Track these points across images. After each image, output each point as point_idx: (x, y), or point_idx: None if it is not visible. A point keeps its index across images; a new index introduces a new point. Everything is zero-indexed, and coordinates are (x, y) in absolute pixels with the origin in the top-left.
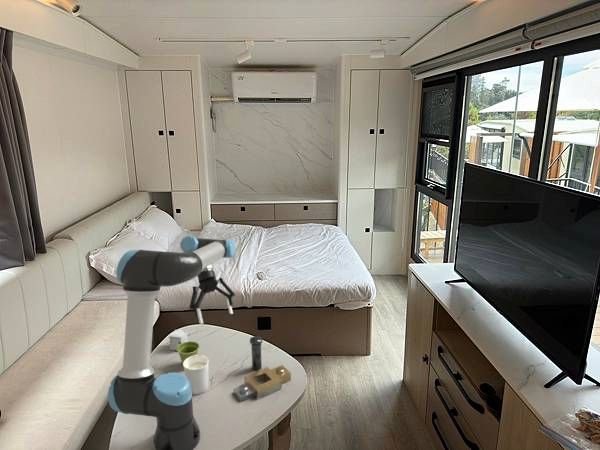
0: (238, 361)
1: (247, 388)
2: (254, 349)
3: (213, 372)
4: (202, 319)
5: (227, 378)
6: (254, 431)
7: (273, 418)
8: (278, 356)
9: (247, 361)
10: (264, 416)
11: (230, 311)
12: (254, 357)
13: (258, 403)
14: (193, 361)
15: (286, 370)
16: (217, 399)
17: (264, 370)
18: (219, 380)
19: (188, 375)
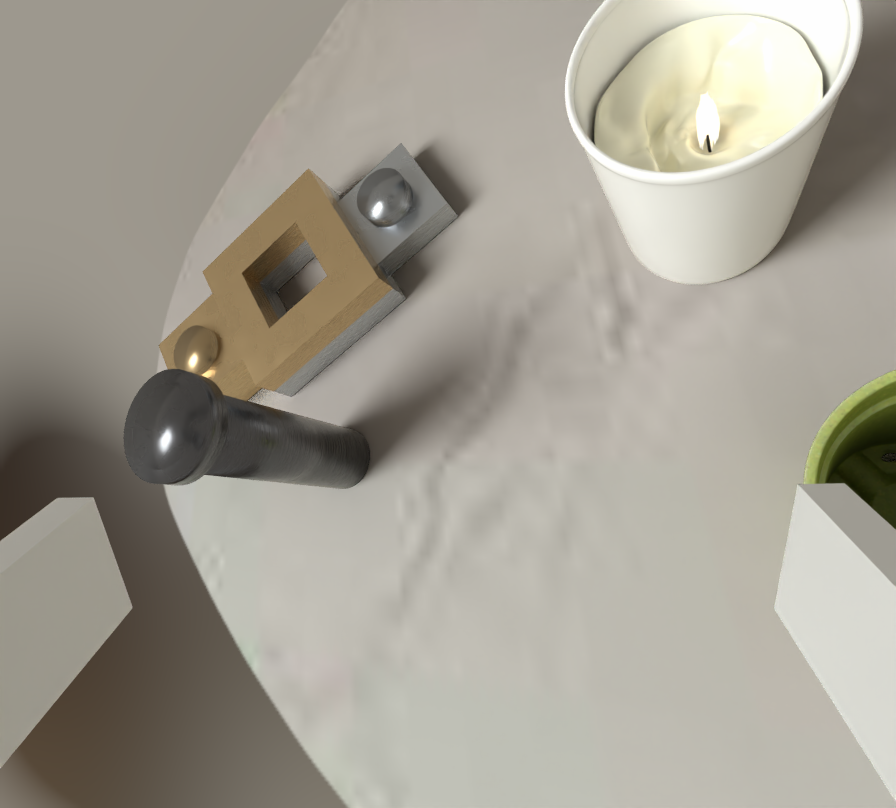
0: (461, 538)
1: (361, 191)
2: (238, 399)
3: (626, 398)
4: (825, 681)
5: (511, 339)
6: (349, 10)
7: (281, 99)
8: (229, 582)
9: (402, 535)
10: (312, 98)
11: (34, 519)
12: (290, 413)
13: (335, 167)
14: (767, 178)
15: (173, 361)
16: (541, 144)
17: (270, 349)
18: (562, 313)
19: (751, 5)
